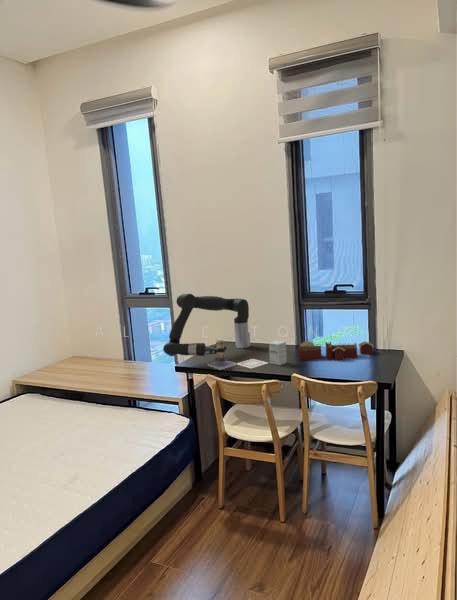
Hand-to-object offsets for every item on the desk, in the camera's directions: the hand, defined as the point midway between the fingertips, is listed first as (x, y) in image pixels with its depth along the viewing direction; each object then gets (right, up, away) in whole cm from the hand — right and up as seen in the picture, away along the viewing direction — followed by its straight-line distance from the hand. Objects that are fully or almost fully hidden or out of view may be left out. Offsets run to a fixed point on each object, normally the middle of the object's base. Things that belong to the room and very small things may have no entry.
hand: (225, 349), depth 265 cm
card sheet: (+16, -9, +2) cm, 18 cm away
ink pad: (-2, -10, +2) cm, 10 cm away
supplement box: (+31, -8, +1) cm, 32 cm away
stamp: (-2, -7, +1) cm, 7 cm away
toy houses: (+67, -5, +8) cm, 68 cm away
